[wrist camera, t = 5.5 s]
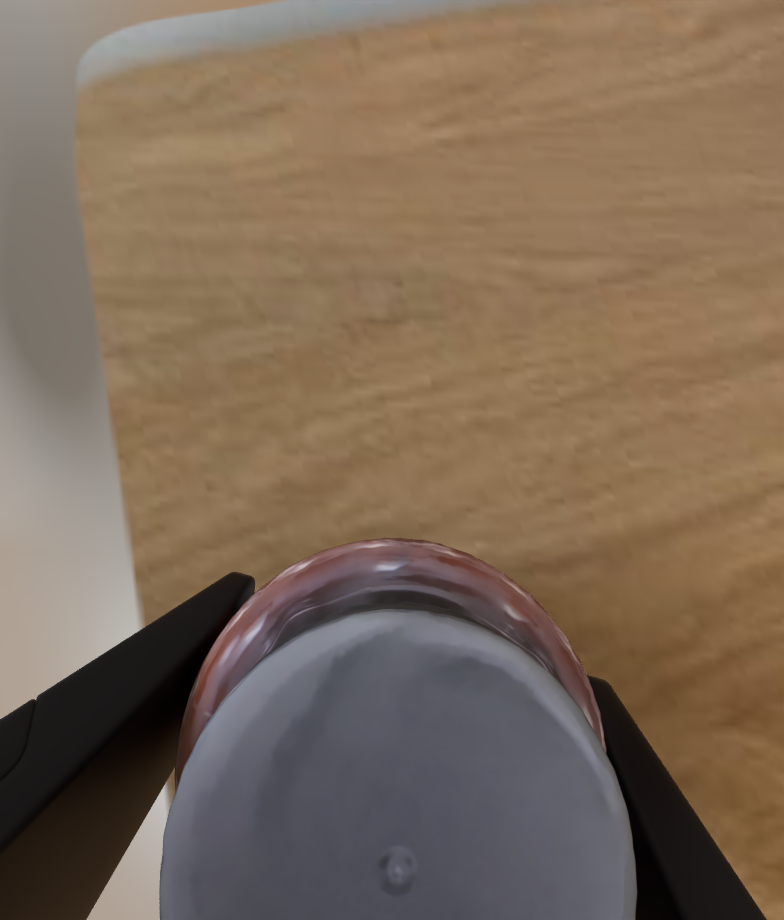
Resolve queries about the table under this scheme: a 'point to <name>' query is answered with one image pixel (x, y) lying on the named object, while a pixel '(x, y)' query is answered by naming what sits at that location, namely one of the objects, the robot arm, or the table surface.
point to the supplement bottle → (394, 754)
